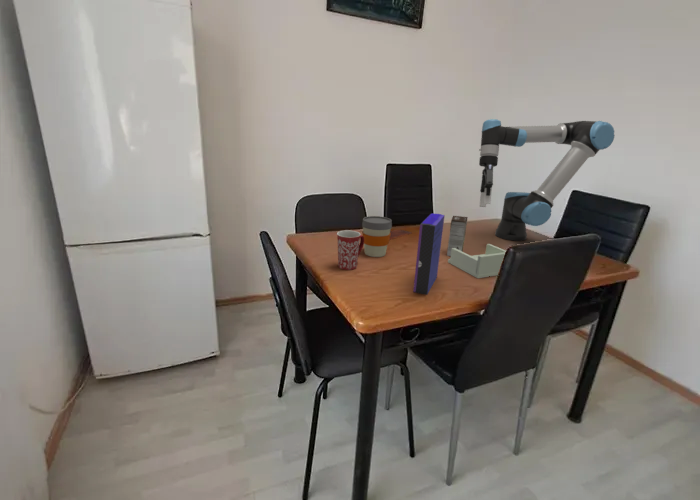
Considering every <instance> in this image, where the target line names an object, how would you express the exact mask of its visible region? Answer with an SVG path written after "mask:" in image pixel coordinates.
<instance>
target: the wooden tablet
mask: <svg viewBox="0 0 700 500" xmlns="http://www.w3.org/2000/svg"><path fill="white" fill-rule="evenodd" d="M390 233H391V235H390V240H394V239H398V238H401V237H405V236H409V235H411V234H413V232H412V231H407V230H403V229H394V230H390ZM390 240H389V241H390Z"/></svg>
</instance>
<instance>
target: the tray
mask: <svg viewBox="0 0 700 500" xmlns="http://www.w3.org/2000/svg"><path fill="white" fill-rule="evenodd" d="M506 251H507V250H506V249H503V248H500V247H498V246H497V245H493V244H491V243H487V244H486V247H485V253H482V254H474V255H471V254H468V253H466V252H464V251H463V252H462V251H460V250H458V249H456V248H452V250H451V256H449V257H450V258H448V259H447V263H448V264H450V265H452V266H454V267H456V268H457V269H459V270H461V271H463V272H465V273H467V274H469V275H471V276H473V277H474V278H476V279H481V278H488V277H489V276H490V277H495V276H499V275H498V272H499V269H500V266H501V263H502V261H503V258H504V255H505V252H506ZM490 277H489V278H490Z"/></svg>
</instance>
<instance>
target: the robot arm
mask: <svg viewBox="0 0 700 500" xmlns="http://www.w3.org/2000/svg"><path fill="white" fill-rule="evenodd" d="M481 129H482V130H481V139H480V140H481V141H480V148H478V149H479V150H478V152H480V153H479V156H480V157H479V160H478V161H479V166H480V167H483V170H482V173H481V174H482V175H481V185H480V191H479V192H480V198H479V208H486V207H487V205H491V201H492V188H493V186H494V167H497V166H498V163H499V162H498V161H499V153H500V152H499V151H500V145H501V146H509V147H517V148H518V147H519V148H520V147H523V146H524V145H525V144H529V143H530V144H531V143H532V144H533V143H536V144H537V143H555V144H556V145H568V146H571V147H570V149H569V150H568V151H567V152H566V154H565V155H564V156H563V157H562V159H561V160H560V161H559V163H558V164H556V166H555V167H554V169H553V170H552V171H551V172H550V174H549V175H548V176H547V177H546V178H545V180H544V181H543V182H542V183H541V185H539V186H538V188H537V189H536V190H531V191H530V192H525V191H523V192H522V191H521V192H520V191H508V192H506V193H505V196H504V200H503V207H502V212H501V218H500V222H499V224H498V225H497V228H496V229H495V233H494V234H495V236H496V237H497V238H500V239H503V240H507V241H517V242H518V241H525V240H527V239H528V238H527V236H528V233H527V226H526V225H529V226H534V227H538V226H542V225H544V224H546V223H547V222H548V221H549V220H550V218H551V216H552V208H553V207H554V200H555V199H556V198H557V196H558V195H559V194H560V193H561V191H563V189H564V188H565V187H566V185H568V183H569V182H570V181H571V180H572V178H573V177H574V176H575V175H576V174H577V172H578V171H579V170H580V169H581V168H582V166H583V165H584V164H585V163H586V162H587V161H588V159H589V158H594V157H595V156H596V154H598V153H599V151H600V150H604V149H608V148H609V147H610V146H611V145H612V143H613V142H614V139H615V129H614V127H613V125H612V124H611V123H609V122H608V121H602V120H595V121H594V120H579V121H578V120H576V121H572V122H571V121H570V122H563V123H562V122H560V123H558V124H557V125H528V126H527V125H526V126H524V125H523V126H519V125H518V126H502V122H501V120H499V119H493V118H492V119H491V118H490V119H486V120H484V121H483V123H482V128H481Z"/></svg>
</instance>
